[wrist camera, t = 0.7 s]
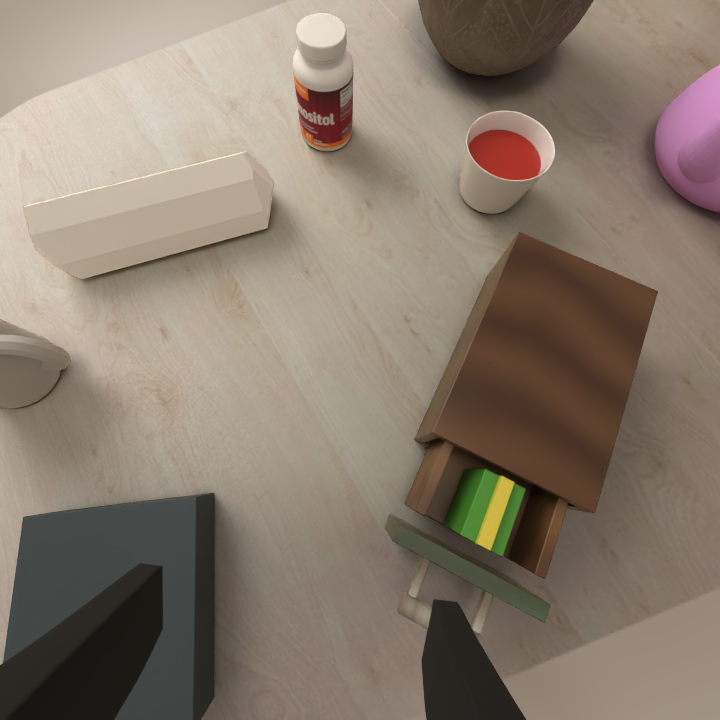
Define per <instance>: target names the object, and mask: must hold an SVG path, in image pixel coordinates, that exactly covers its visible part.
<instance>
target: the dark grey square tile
mask: <svg viewBox="0 0 720 720" xmlns="http://www.w3.org/2000/svg"><path fill="white" fill-rule="evenodd" d="M139 563H144V564H152V565H160V566H163V630H162V632H161V634H160V636H159V638H158V640H157V642H156V644H155V647H154V649H153V651H152V653H151V655H150V657H149V659H148V661H147V663H146V665H145V667H144V669H143V671H142V673H141V675H140V677H139V679H138V680H137V682H136V684H135V686H134V687H133V689H132V691H131V692H130V694H129V696H128V697H127V699H126V701H125V702H124V704H123V706H122V707H121V709H120V711H119V712H118V714H117V716H116V718H115V719H114V720H201V719H202V717H203V715H204V713H205V712H206V710H207V708H208V707H209V705H210V703H211V701H212V700H213V698H214V493H209V494H201V495H192V496H184V497H175V498H167V499H159V500H150V501H142V502H133V503H125V504H116V505H108V506H100V507H91V508H83V509H74V510H66V511H59V512H52V513H45V514H39V515H32V516H26V517H23V523H22V530H21V537H20V544H19V552H18V559H17V566H16V573H15V581H14V588H13V595H12V602H11V610H10V617H9V624H8V631H7V639H6V646H5V653H4V660H3V663H4V662H6V661H7V660H9V659H10V658H11V657H13V656H14V655H16V654H17V653H19V652H20V651H21V650H23V649H24V648H26V647H27V646H29V645H30V644H32V643H33V642H34V641H36V640H37V639H39V638H40V637H41V636H43V635H44V634H45V633H47V632H48V631H50V630H51V629H52V628H54V627H55V626H56V625H58V624H59V623H60V622H62V621H63V620H64V619H66V618H67V617H69V616H70V615H71V614H73V613H74V612H75V611H77V610H78V609H79V608H81V607H82V606H83V605H85V604H86V603H87V602H89V601H90V600H91V599H93V598H94V597H95V596H97V595H98V594H99V593H101V592H102V591H103V590H104V589H106V588H107V587H108V586H110V585H111V584H112V583H114V582H115V581H116V580H118V579H119V578H120V577H122V576H123V575H124V574H126V573H127V572H128V571H130V570H131V569H132V568H134V567H135V566H137V565H138V564H139Z"/></svg>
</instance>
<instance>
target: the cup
mask: <svg viewBox="0 0 720 720" xmlns="http://www.w3.org/2000/svg"><path fill="white" fill-rule="evenodd" d="M70 362H71V360H70V357H69V355H68V353H67V352H66V351H65V350H63V349H61V348H60V347H57V346H55V345H53V344H52V343H51V342H49V341H48V340H46V339H45V338H43V337H41V336H39V335H36V334H34V333H32V332H29V331H27V330H25V329H22V328H20V327H18V326H15V325H13V324H10V323H8V322H6V321H3V320H1V319H0V407H1V408H19V407H24V406H27V405H30V404H32V403H34V402H36V401H38V400H40V399H41V398H42V397H44V396H45V395H47V394H48V393H49V391H50V390H51V389H52V388H53V387H54V386H55V384H56V382H57V380H58V379H59V376H60V372H61V370H62V369H65V368H66V367H67V366H68V364H69V363H70Z"/></svg>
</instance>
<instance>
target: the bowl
mask: <svg viewBox="0 0 720 720" xmlns="http://www.w3.org/2000/svg"><path fill="white" fill-rule="evenodd" d="M418 2H419V6H420V11H421V15H422V18H423V22H424V25H425V27H426V30H427V32H428V34H429V36H430V38H431V40H432V42H433V44H434V45H435V47H436V48H437V50H438V51H439V53H440V54H441V55H442V56H443V57H444V58H445V59H446V60H447V61H448V62H449V63H451V64H452V65H453V66H455V67H456V68H458V69H460V70H463V71H465V72H468V73H471V74H476V75H484V76H498V75H503V74H508V73H511V72H515V71H518V70H520V69H522V68H525V67H527V66H529V65H531V64H532V63H534V62H536V61H537V60H539V59H541V58H542V57H543V56H545V55H546V54H547V53H549V52H550V51H551V50H553V49H554V48H555V47H556V46H557V45H558V44H560V43H561V42H562V41H563V40H564V39H565V37H566V36H567V35H568V34H569V33H570V32H571V31H572V30H573V29H574V28H575V26H576V25H577V24H578V23H579V22H580V20H581V19H582V17H583V16H584V15H585V13H586V11H587V10H588V8H589V7H590V6H591V3H592V2H593V0H418Z"/></svg>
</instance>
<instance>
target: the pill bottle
mask: <svg viewBox="0 0 720 720" xmlns="http://www.w3.org/2000/svg"><path fill="white" fill-rule="evenodd" d="M296 35H297V46H298V49H297V50H296V52H295V54H294V57H293V74H294V81H295V89H296V96H297V104H298V111H299V119H300V127H301V132H302V136H303V138H304V140H305V141H306V143H307V144H309V145H310V146H311V147H313V148H315V149H317V150H321V151H333V150H337V149H340V148H342V147H343V146H344V145H345V144H346V143H347V142H348V141H349V139H350V137H351V134H352V114H353V60H352V57H351V54H350V52H349V51H348V49H347V48H346V28H345V25H344V23H343V22H342V21H341V20H340V19H339V18H337V17H336V16H334V15H331V14H326V13H316V14H312V15H309V16H307V17H305V18H303V19H302V20H301V21H300V22H299V23H298V25H297V28H296Z"/></svg>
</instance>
